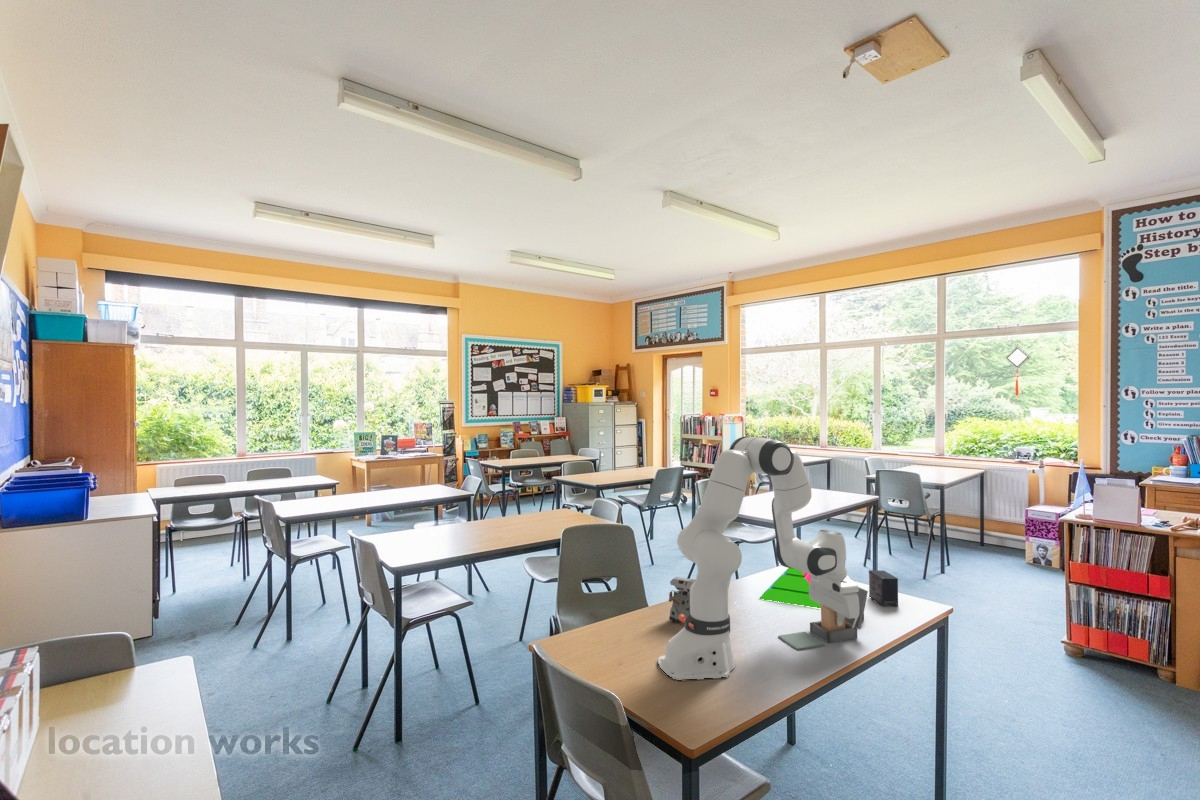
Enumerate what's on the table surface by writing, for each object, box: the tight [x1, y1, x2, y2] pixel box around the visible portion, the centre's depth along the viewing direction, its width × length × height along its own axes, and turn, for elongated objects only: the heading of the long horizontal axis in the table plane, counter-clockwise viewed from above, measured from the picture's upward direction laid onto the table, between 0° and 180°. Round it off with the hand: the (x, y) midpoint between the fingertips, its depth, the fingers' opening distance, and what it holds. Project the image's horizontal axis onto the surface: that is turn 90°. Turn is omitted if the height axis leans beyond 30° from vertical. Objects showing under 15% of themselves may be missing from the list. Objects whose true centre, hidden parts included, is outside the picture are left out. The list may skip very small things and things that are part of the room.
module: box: [820, 606, 846, 632], centre depth 180 cm, size 6×4×9 cm, turn 106°
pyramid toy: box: [759, 568, 821, 608], centre depth 218 cm, size 25×25×14 cm
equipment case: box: [809, 586, 869, 643], centre depth 181 cm, size 15×10×15 cm, turn 106°
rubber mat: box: [777, 631, 826, 651], centre depth 176 cm, size 10×10×1 cm
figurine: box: [668, 576, 696, 624], centre depth 194 cm, size 9×12×15 cm
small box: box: [868, 569, 899, 607], centre depth 209 cm, size 11×6×10 cm, turn 179°
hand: (833, 622), depth 180 cm, fingers closed on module, 4 cm apart
